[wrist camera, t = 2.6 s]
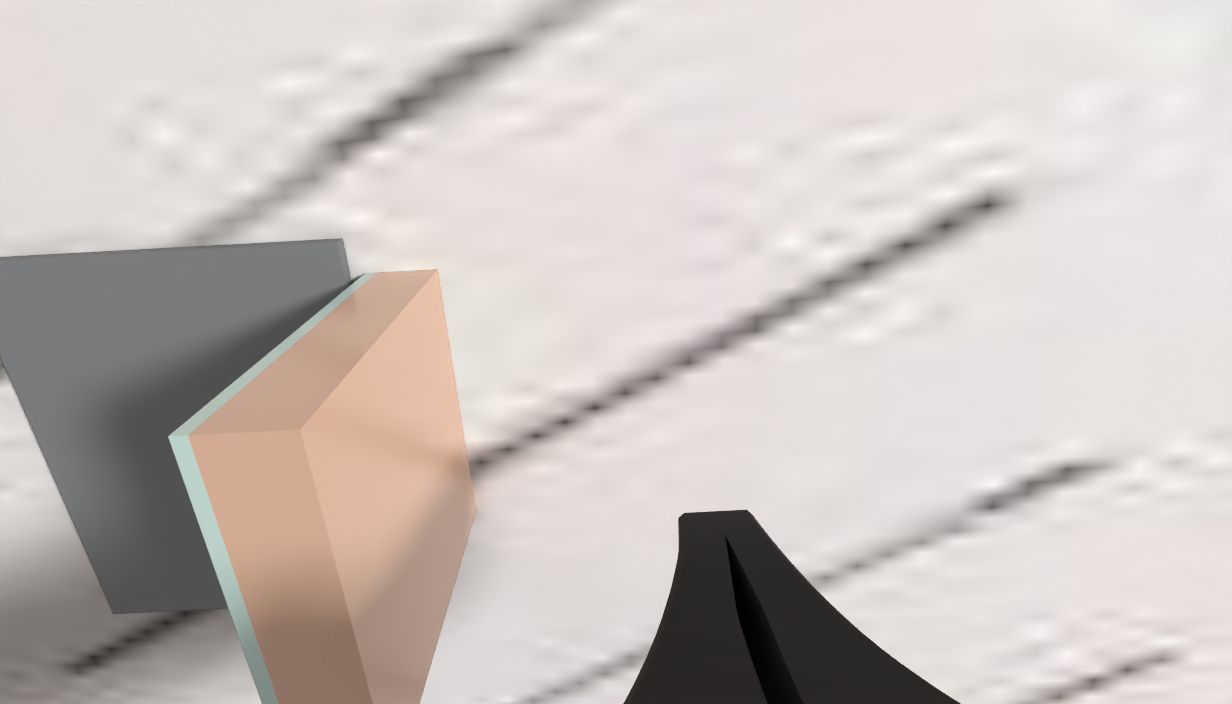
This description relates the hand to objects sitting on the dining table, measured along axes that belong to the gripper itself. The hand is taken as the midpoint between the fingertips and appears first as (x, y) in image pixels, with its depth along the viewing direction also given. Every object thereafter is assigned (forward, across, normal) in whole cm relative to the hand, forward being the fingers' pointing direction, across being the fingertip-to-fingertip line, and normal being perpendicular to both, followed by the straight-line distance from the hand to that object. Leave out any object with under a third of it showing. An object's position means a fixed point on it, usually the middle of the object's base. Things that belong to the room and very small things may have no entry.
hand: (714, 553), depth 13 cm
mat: (+7, +14, +1) cm, 16 cm away
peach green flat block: (+7, +8, 0) cm, 11 cm away
